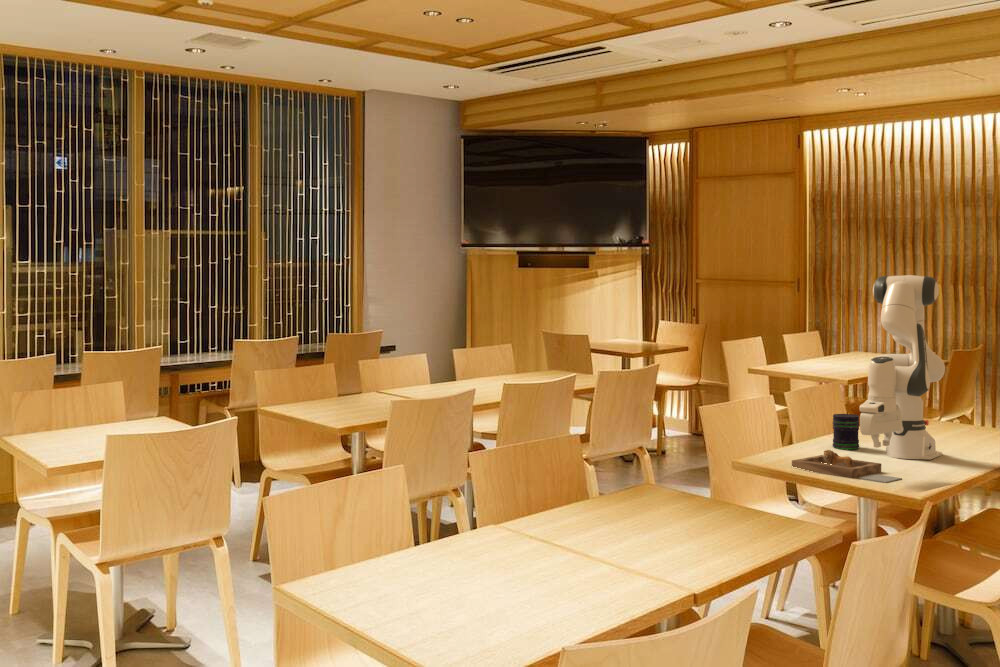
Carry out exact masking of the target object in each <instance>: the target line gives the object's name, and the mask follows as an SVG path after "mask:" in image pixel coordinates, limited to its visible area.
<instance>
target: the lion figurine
mask: <svg viewBox="0 0 1000 667" xmlns="http://www.w3.org/2000/svg"><path fill="white" fill-rule="evenodd" d="M822 455H823V457H824V459H825V460H826V461H828V463H829V464H832V465H836V464H839V465H843V464H846V465H847V466H848V467H850V468H853V467H855V466H854V463H853V460H854V459H853V458H852V457H851V456H841V455H839V454H838V453H837V452H834V451H833V450H830V449H826V450H824V451H823V454H822ZM852 459H853V460H852ZM851 462H852V464H853V467H852V466H851Z"/></svg>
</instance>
